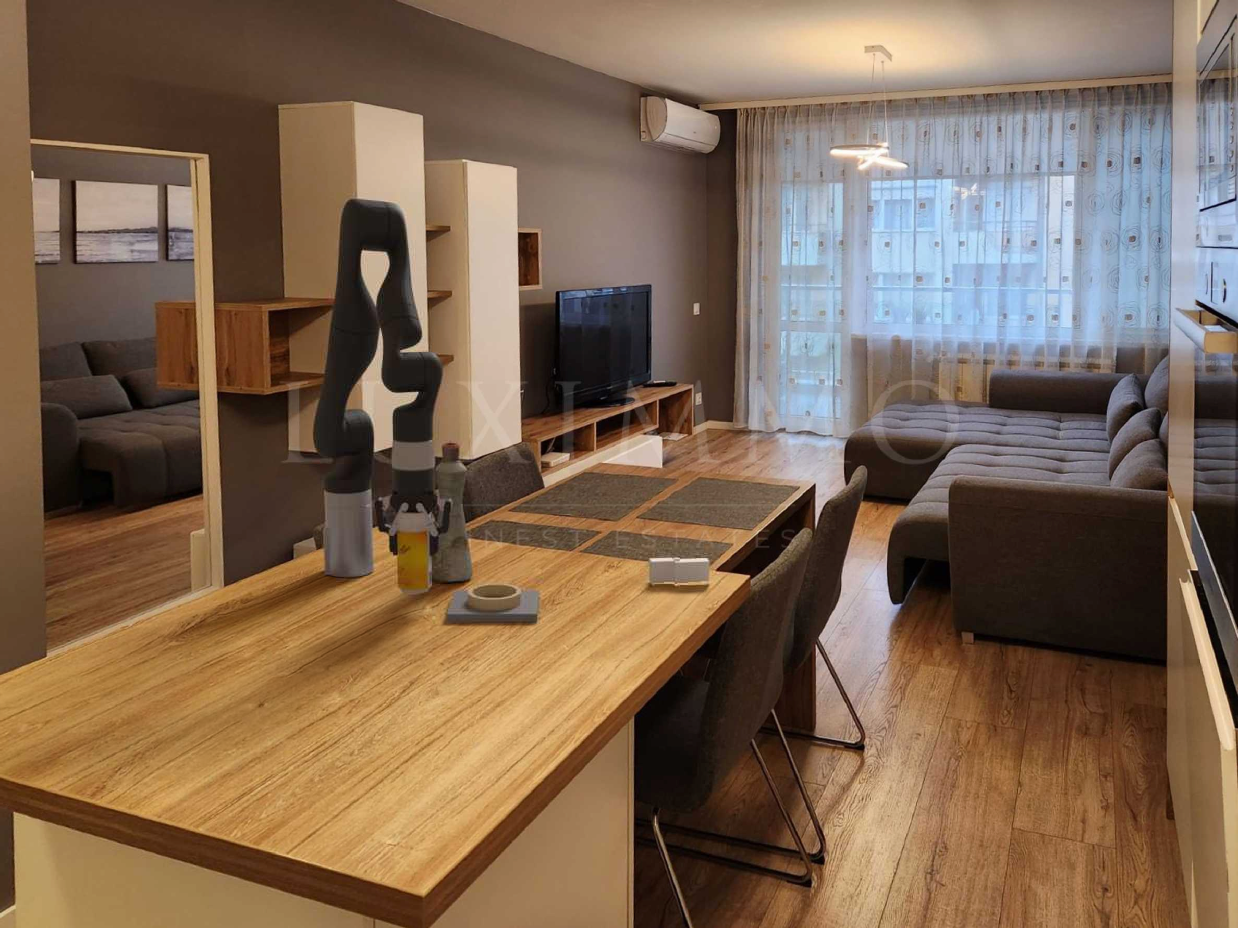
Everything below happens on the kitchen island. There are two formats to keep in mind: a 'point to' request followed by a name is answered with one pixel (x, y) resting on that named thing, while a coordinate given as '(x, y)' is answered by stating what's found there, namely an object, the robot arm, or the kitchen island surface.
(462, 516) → the bottle
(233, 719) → the kitchen island surface
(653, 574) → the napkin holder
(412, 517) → the beer can
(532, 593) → the socket board
